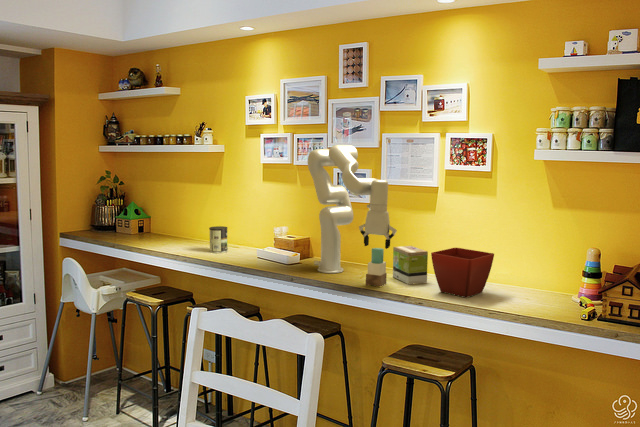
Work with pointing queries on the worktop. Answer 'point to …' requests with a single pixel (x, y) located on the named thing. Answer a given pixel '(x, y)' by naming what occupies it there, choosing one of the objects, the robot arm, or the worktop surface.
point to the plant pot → (462, 270)
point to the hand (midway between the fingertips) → (376, 246)
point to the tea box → (410, 264)
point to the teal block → (377, 255)
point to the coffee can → (218, 239)
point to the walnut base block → (376, 279)
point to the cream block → (376, 268)
